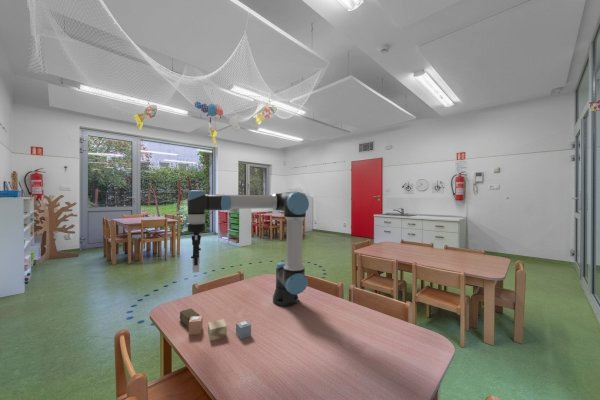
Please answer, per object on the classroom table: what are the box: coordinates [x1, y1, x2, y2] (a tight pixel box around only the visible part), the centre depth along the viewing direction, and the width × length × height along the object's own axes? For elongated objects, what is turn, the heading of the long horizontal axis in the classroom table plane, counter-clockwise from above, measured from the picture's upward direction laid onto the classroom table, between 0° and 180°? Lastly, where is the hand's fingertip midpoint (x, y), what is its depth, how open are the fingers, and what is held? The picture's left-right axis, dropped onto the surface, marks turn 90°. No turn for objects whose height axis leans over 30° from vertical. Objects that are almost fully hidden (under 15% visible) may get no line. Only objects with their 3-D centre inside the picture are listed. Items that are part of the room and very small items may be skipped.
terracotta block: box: [188, 315, 204, 336], centre depth 116 cm, size 5×5×6 cm
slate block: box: [235, 319, 252, 340], centre depth 114 cm, size 5×5×5 cm
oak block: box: [207, 318, 228, 342], centre depth 113 cm, size 7×7×5 cm
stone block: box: [179, 308, 200, 328], centre depth 124 cm, size 6×12×5 cm, turn 46°
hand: (196, 268), depth 119 cm, fingers open, 13 cm apart
